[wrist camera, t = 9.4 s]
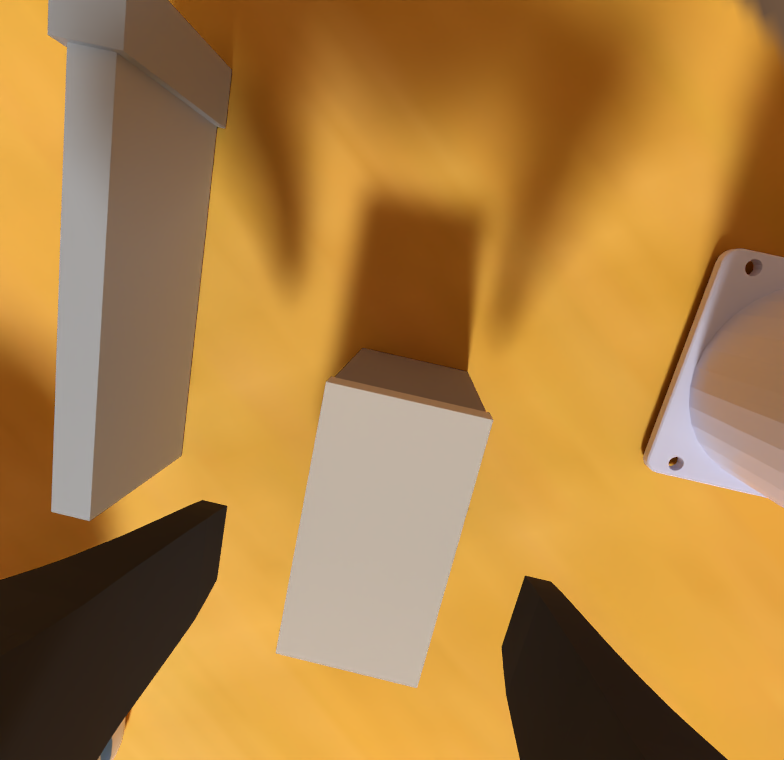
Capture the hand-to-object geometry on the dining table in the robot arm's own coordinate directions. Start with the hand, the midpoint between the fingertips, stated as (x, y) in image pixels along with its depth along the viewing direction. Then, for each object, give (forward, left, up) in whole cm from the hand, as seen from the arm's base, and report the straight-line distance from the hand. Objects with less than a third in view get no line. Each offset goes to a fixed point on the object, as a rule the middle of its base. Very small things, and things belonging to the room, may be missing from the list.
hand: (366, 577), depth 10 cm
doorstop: (0, 0, -7) cm, 7 cm away
